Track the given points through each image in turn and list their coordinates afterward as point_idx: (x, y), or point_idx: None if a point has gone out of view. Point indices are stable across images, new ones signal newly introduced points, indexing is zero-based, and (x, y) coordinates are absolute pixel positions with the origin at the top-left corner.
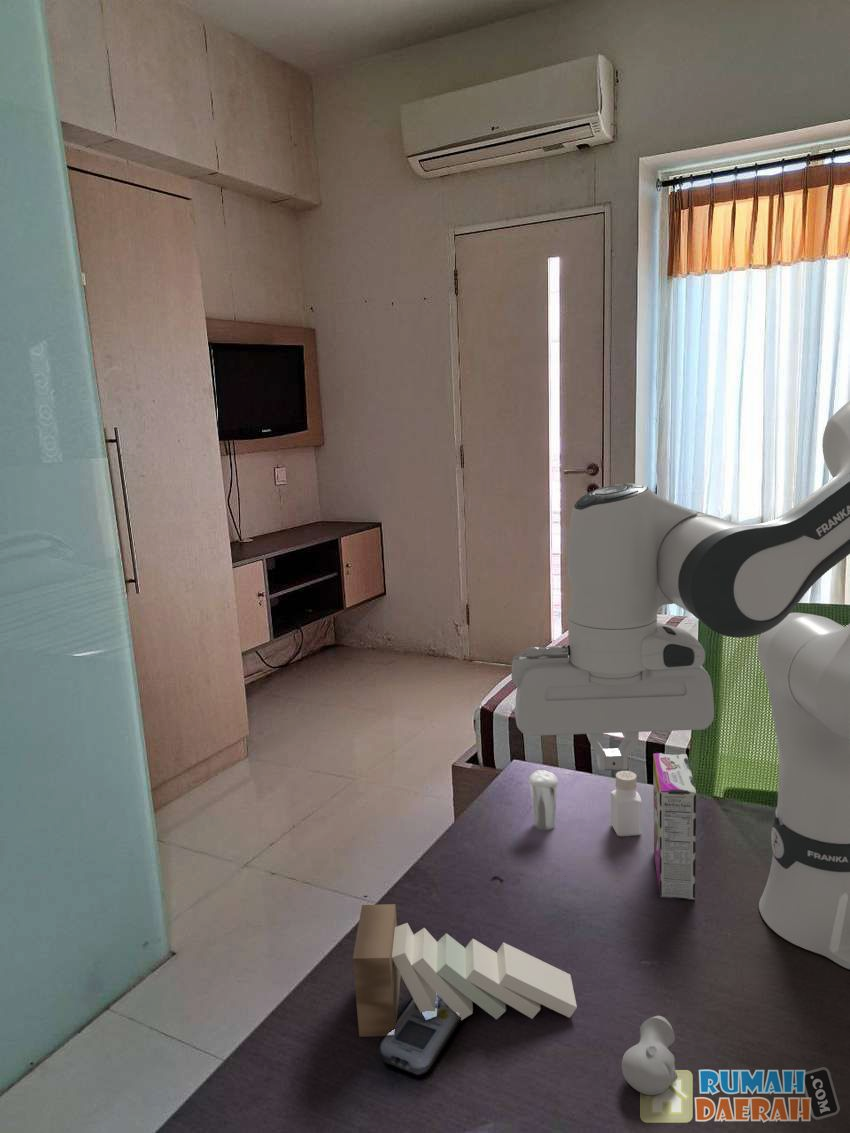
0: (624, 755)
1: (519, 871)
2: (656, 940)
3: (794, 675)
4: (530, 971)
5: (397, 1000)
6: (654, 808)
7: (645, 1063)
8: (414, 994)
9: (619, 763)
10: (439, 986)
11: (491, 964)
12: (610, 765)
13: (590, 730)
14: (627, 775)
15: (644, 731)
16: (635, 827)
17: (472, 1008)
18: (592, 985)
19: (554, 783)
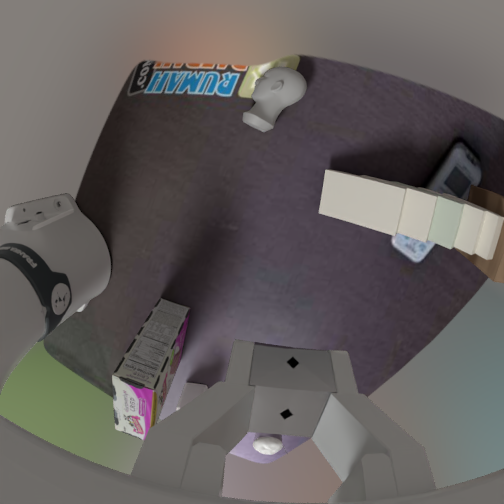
0: (241, 383)
1: None
2: (212, 254)
3: None
4: (371, 201)
5: None
6: (167, 387)
7: (287, 75)
8: (469, 202)
9: (268, 359)
10: (455, 199)
11: (410, 212)
12: (308, 358)
13: (470, 499)
14: None
15: (89, 462)
16: (189, 388)
17: None
18: (295, 205)
19: (258, 440)
